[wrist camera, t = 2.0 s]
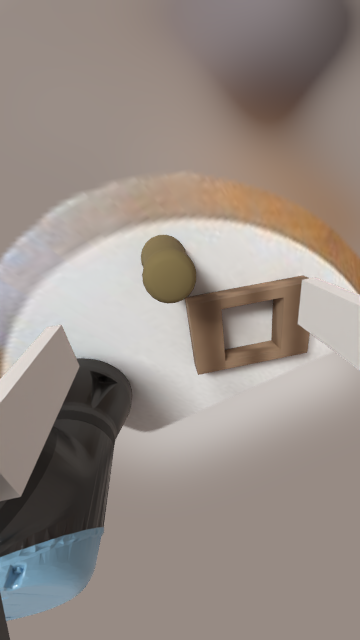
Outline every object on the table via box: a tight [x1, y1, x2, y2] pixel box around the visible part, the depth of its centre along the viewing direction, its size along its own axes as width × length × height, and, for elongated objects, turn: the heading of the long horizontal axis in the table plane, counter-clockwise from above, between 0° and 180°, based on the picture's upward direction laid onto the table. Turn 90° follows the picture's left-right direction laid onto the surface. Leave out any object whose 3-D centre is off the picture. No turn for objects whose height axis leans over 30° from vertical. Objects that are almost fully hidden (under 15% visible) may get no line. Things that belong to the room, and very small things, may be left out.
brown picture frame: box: [185, 276, 310, 375], centre depth 35 cm, size 18×12×3 cm, turn 100°
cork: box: [141, 235, 196, 303], centre depth 25 cm, size 6×6×11 cm
